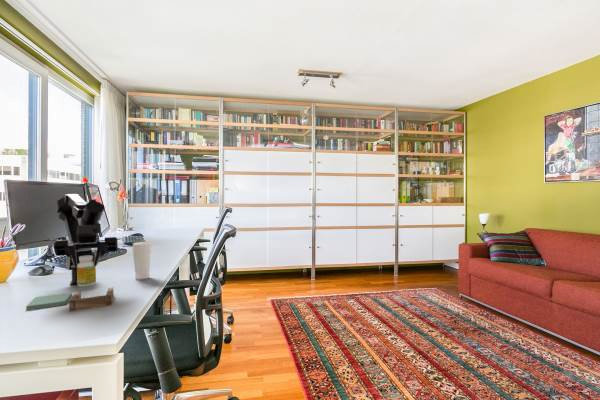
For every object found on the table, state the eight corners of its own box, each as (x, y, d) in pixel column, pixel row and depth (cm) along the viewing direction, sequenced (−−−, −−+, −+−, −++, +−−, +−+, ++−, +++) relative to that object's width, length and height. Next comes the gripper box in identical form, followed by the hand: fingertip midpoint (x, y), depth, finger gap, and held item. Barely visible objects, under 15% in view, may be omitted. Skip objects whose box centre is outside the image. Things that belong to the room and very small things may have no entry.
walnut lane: (75, 301, 106) (75, 292, 106) (113, 295, 111) (113, 287, 111) (69, 311, 97) (69, 301, 97) (111, 305, 102) (110, 295, 102)
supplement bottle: (86, 286, 107) (86, 258, 106) (73, 286, 108) (72, 257, 107) (99, 282, 112) (98, 255, 112) (86, 281, 113) (85, 254, 112)
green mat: (35, 300, 107) (35, 297, 107) (71, 295, 112) (71, 292, 112) (26, 310, 98) (26, 306, 98) (65, 304, 103) (65, 300, 103)
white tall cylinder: (137, 276, 137) (136, 242, 137) (153, 276, 137) (152, 241, 137) (130, 280, 130) (129, 244, 130) (147, 280, 131) (146, 244, 130)
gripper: (53, 217, 108) (46, 255, 99) (116, 215, 117) (116, 249, 107) (58, 237, 115) (53, 274, 106) (118, 233, 124) (117, 267, 115)
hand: (85, 266), depth 108 cm, fingers closed on supplement bottle, 5 cm apart
